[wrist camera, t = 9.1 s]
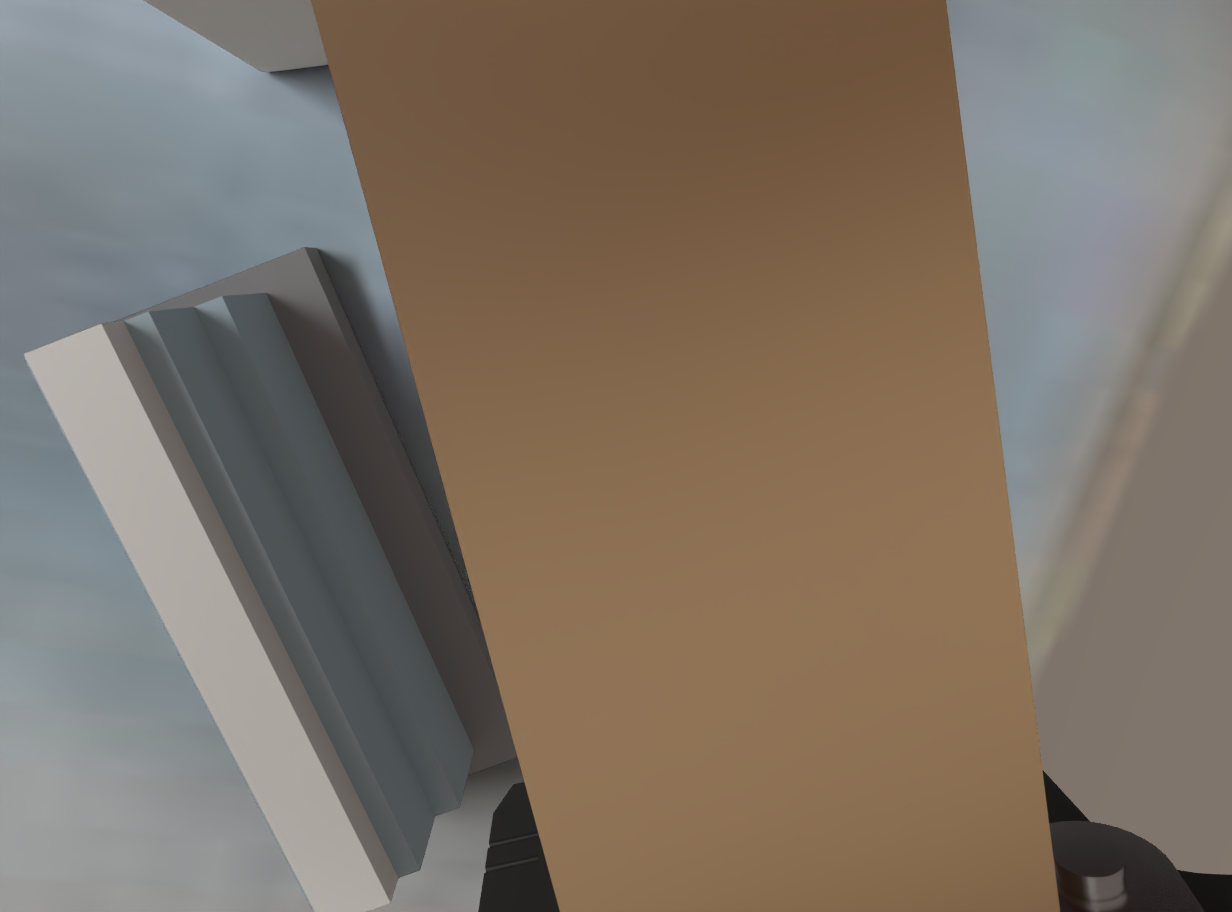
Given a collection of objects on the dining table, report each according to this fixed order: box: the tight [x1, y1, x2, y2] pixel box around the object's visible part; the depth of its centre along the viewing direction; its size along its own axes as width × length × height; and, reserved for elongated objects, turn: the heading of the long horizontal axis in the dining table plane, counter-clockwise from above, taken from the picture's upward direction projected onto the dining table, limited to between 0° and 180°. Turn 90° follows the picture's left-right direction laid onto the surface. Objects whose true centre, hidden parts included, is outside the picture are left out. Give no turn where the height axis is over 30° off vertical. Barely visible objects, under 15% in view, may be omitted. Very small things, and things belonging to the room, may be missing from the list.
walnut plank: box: [311, 0, 1060, 912], centre depth 9 cm, size 24×3×6 cm, turn 12°
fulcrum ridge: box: [24, 247, 518, 912], centre depth 31 cm, size 22×10×10 cm, turn 21°
